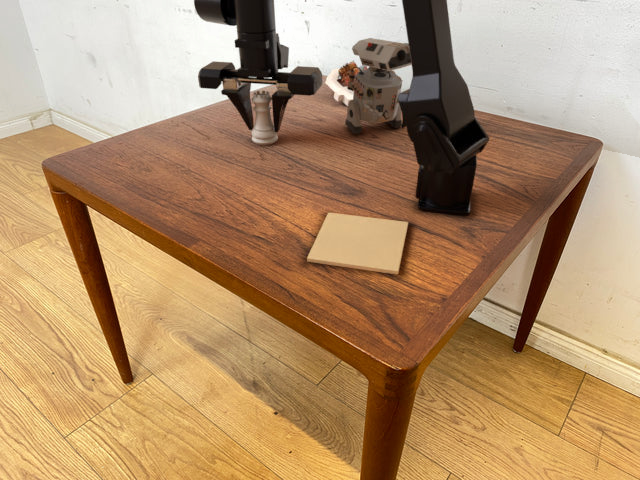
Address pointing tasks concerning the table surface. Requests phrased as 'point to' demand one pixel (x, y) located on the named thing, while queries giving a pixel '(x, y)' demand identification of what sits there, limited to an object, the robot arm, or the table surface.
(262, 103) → the rook chess piece
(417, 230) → the table surface
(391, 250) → the cork mat
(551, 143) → the table surface
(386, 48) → the figurine
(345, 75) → the mineral specimen
